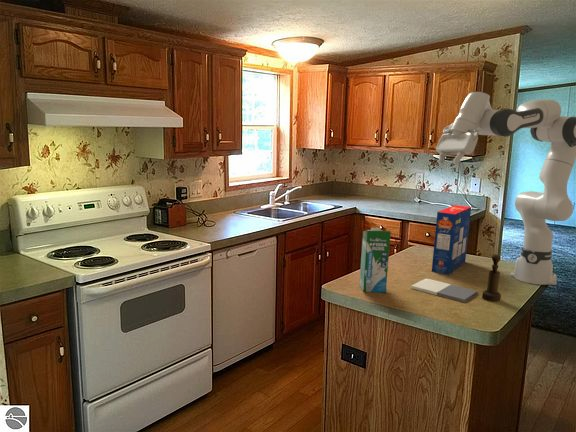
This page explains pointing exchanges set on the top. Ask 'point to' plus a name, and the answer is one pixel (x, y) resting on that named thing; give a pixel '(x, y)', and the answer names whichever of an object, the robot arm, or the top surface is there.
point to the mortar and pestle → (493, 282)
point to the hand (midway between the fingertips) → (447, 163)
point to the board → (445, 290)
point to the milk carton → (374, 260)
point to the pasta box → (451, 239)
